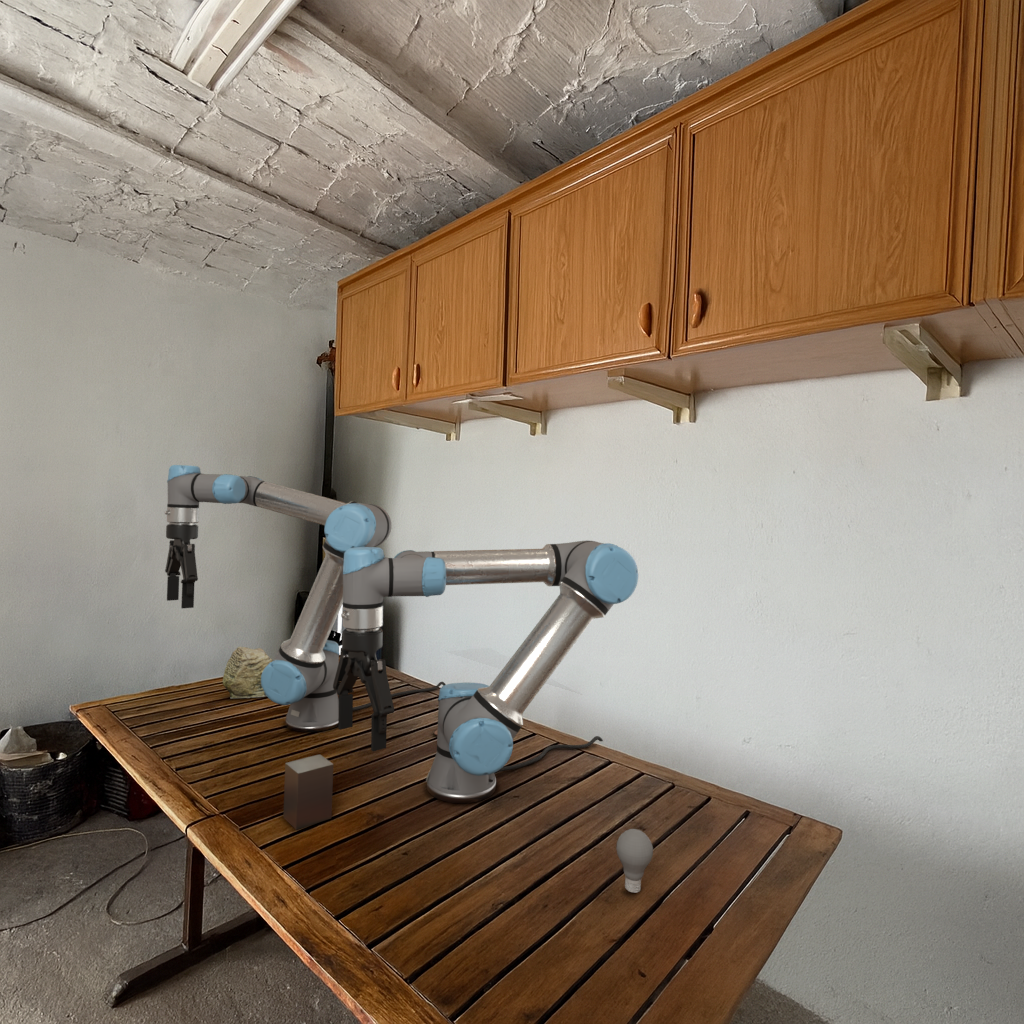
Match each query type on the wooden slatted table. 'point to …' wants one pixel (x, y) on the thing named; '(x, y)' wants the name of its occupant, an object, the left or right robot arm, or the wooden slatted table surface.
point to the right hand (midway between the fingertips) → (361, 738)
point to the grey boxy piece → (308, 791)
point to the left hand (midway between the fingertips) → (179, 604)
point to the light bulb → (634, 857)
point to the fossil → (245, 672)
